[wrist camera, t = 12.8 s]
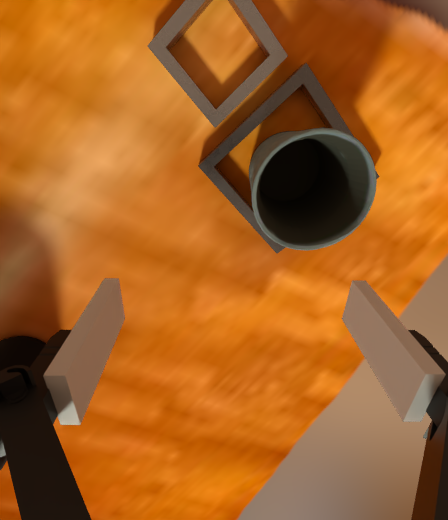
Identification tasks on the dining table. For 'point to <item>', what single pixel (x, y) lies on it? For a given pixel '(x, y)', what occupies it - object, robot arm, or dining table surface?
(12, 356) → the coffee jar
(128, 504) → the dining table surface
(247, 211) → the square hollow frame
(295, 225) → the grey cup
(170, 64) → the grey diamond-shaped open frame
